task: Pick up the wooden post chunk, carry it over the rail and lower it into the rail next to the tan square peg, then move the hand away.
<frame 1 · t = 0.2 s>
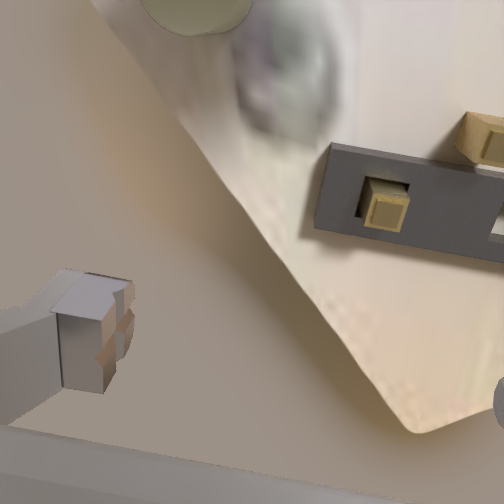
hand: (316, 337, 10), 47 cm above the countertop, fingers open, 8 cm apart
wooden post chunk: (478, 132, 52), on the countertop
tan square peg: (378, 192, 57), resting in rail
rail: (442, 203, 56), on the countertop
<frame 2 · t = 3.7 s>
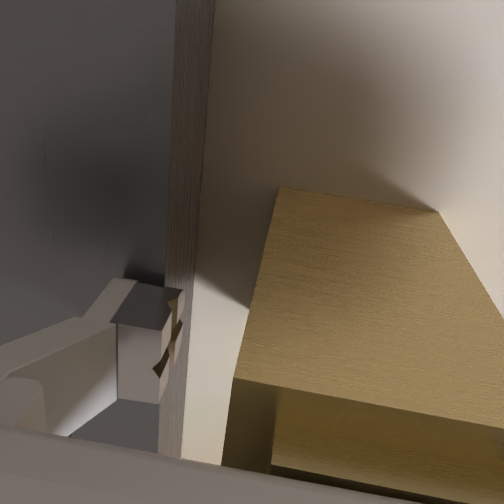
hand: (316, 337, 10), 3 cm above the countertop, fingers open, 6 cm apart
wooden post chunk: (341, 267, 12), on the countertop
rail: (19, 180, 12), on the countertop
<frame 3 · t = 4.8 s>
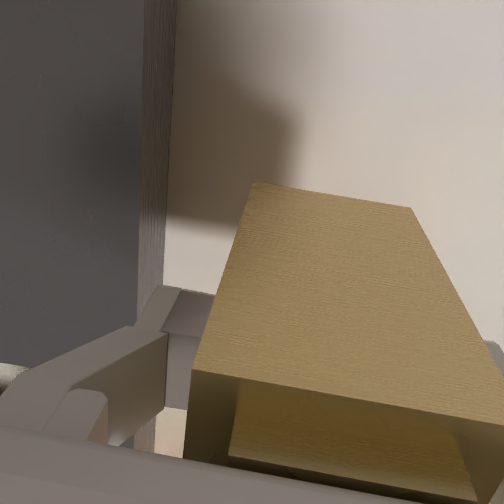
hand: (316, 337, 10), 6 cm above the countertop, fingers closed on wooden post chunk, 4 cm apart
wooden post chunk: (315, 263, 12), point 3 cm above the countertop, touching gripper
rail: (16, 170, 15), on the countertop
when the fingers open (4 cm above the countertop, at t = 8.4 s): wooden post chunk drops 1 cm, resting in rail.
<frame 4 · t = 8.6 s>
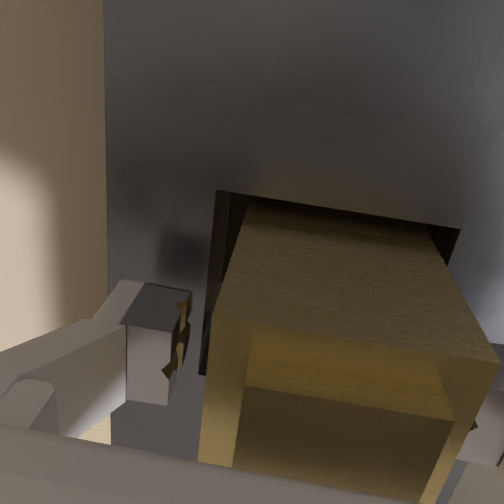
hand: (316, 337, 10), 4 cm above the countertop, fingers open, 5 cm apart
wooden post chunk: (318, 246, 13), resting in rail
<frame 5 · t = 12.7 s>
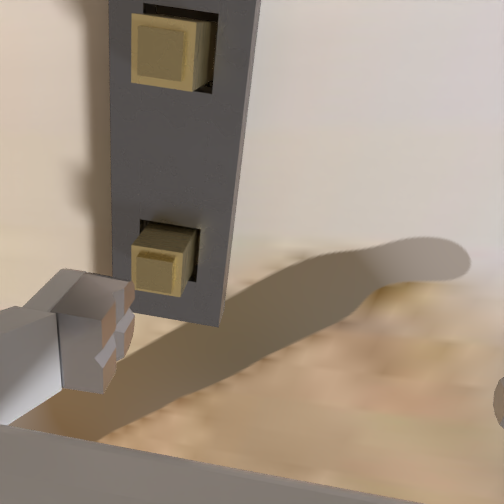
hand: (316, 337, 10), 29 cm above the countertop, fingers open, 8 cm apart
wooden post chunk: (179, 234, 42), resting in rail
tan square peg: (189, 47, 35), resting in rail
rail: (182, 151, 38), on the countertop
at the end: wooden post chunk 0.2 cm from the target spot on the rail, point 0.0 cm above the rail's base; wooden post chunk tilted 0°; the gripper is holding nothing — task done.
